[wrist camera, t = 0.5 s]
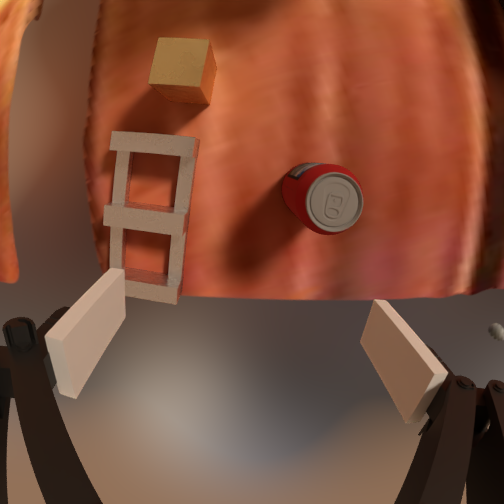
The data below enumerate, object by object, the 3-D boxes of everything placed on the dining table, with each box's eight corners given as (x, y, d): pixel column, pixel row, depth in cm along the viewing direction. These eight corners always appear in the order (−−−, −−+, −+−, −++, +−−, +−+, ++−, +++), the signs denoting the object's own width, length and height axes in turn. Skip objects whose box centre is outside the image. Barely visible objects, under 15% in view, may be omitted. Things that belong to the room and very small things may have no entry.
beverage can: (338, 169, 37) (377, 175, 26) (326, 220, 39) (359, 246, 28) (286, 156, 37) (307, 155, 25) (275, 209, 39) (290, 231, 27)
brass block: (177, 65, 33) (158, 37, 23) (217, 68, 33) (209, 39, 23) (170, 101, 34) (147, 83, 24) (210, 105, 34) (199, 86, 25)
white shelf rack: (124, 133, 35) (112, 131, 31) (199, 139, 36) (195, 137, 32) (113, 280, 40) (102, 291, 37) (181, 291, 41) (176, 304, 37)
